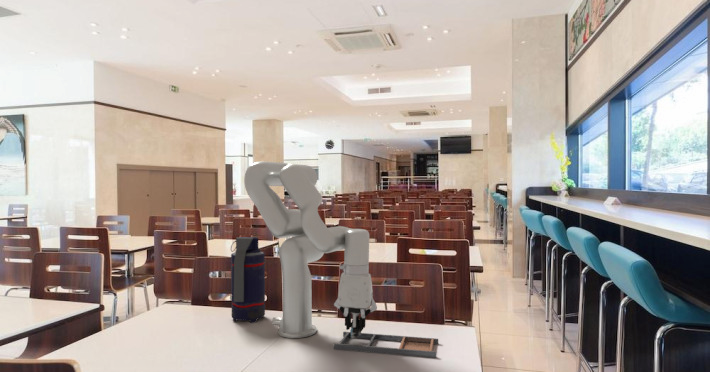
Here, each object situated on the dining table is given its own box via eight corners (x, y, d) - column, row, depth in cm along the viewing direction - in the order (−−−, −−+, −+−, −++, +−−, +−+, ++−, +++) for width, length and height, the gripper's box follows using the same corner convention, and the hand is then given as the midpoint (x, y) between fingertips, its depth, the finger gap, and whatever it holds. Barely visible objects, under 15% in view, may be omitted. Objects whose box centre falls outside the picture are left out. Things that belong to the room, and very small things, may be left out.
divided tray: (333, 348, 129) (333, 343, 129) (343, 336, 140) (343, 331, 140) (436, 357, 122) (436, 352, 122) (438, 343, 133) (438, 338, 133)
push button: (360, 340, 130) (361, 307, 130) (343, 338, 131) (344, 305, 131) (365, 333, 136) (366, 301, 136) (349, 331, 138) (350, 299, 138)
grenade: (240, 313, 167) (240, 234, 167) (270, 314, 164) (269, 235, 164) (222, 324, 153) (222, 239, 153) (254, 326, 151) (253, 239, 151)
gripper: (326, 270, 132) (325, 330, 132) (380, 274, 128) (379, 336, 128) (334, 265, 139) (332, 322, 139) (385, 269, 135) (383, 327, 135)
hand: (355, 328), depth 134 cm, fingers closed on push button, 3 cm apart
